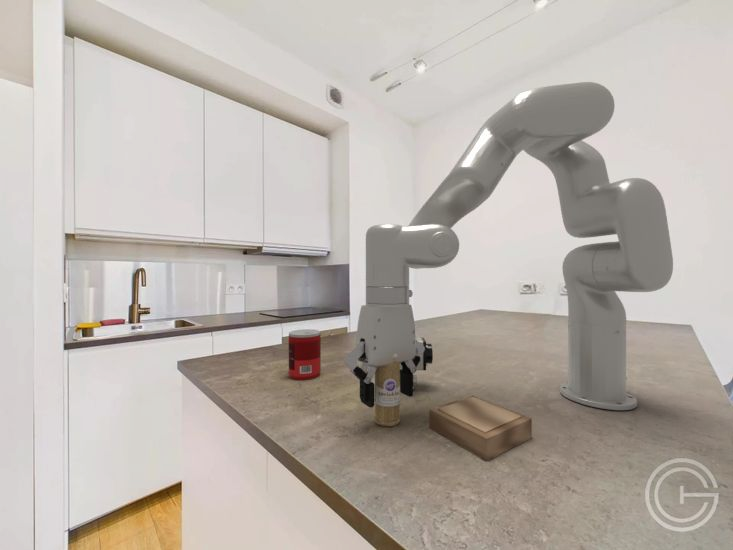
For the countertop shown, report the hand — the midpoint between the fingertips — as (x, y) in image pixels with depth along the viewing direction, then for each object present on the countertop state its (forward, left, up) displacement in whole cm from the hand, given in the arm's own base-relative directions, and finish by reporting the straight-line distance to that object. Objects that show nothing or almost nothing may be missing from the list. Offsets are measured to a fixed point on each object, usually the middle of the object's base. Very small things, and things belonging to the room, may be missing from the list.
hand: (387, 398), depth 53 cm
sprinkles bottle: (0, 0, -4) cm, 4 cm away
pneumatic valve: (-13, -11, -4) cm, 18 cm away
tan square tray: (-10, +11, -4) cm, 15 cm away
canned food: (+3, -31, -4) cm, 31 cm away
